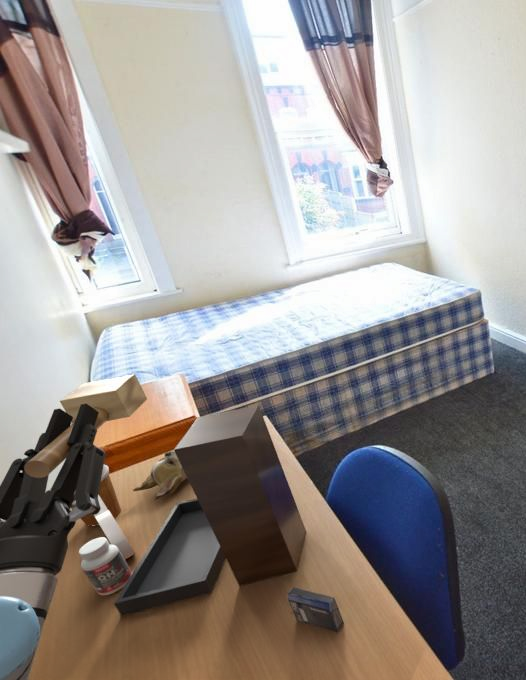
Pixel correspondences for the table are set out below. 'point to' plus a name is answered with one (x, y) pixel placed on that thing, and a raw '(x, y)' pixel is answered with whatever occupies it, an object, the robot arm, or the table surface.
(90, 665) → the table surface
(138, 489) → the ceramic sculpture
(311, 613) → the mini dv tape
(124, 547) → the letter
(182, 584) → the tray
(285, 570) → the stand
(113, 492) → the disposable coffee cup
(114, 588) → the pill bottle
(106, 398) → the mallet
